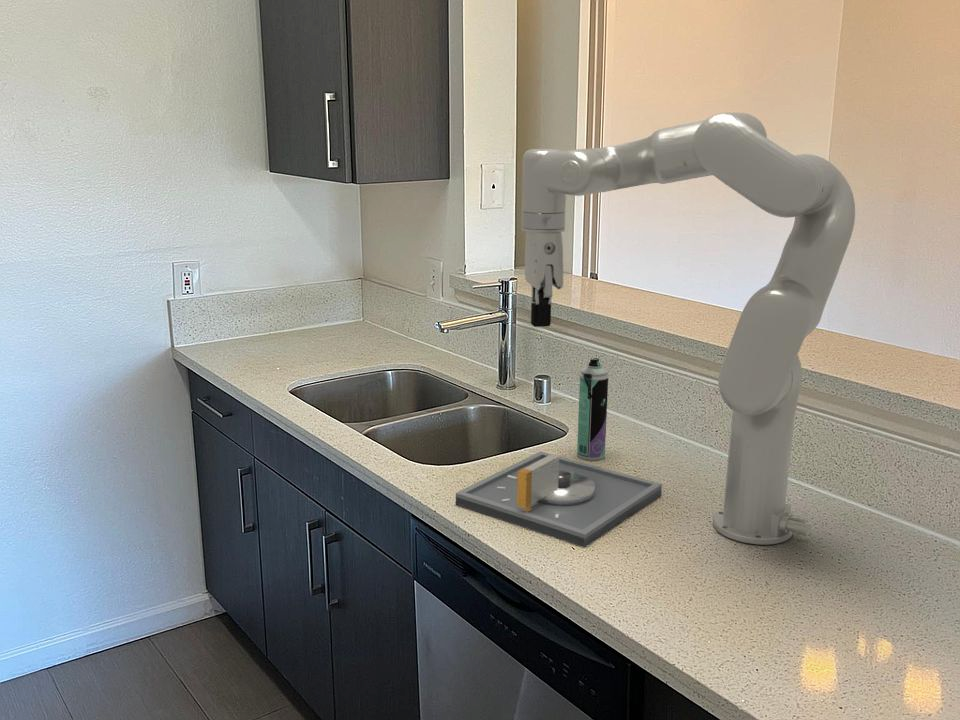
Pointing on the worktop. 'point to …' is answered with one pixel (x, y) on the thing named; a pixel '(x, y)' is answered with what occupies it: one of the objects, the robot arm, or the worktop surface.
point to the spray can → (592, 411)
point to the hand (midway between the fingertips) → (540, 325)
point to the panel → (568, 523)
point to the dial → (552, 485)
